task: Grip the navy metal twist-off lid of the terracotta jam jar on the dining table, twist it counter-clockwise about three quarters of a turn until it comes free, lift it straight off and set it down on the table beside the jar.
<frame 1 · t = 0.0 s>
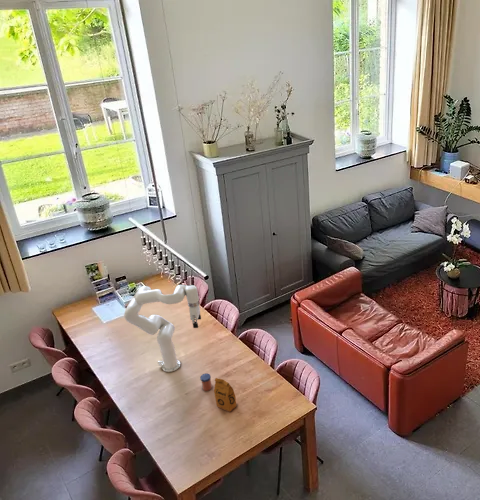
hand: (197, 323, 362), 37 cm above the table, tool pointing down, fingers open, 9 cm apart
jar: (207, 387, 359), on the table
coffee package: (227, 406, 344), on the table
lid: (205, 377, 355), point 9 cm above the table, screwed on, not yet turned
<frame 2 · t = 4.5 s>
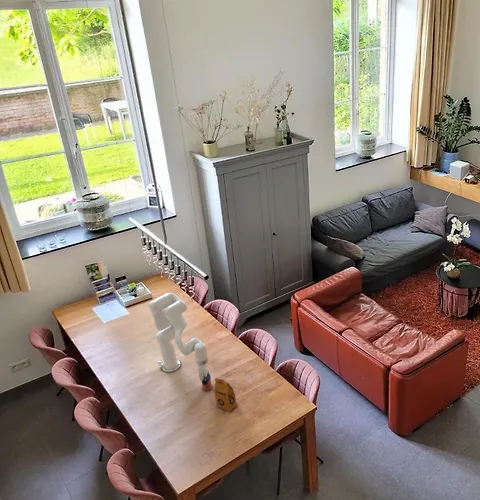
hand: (206, 380, 356), 7 cm above the table, tool pointing down, fingers closed on lid, 6 cm apart
lid: (205, 377, 355), point 9 cm above the table, screwed on, not yet turned, touching gripper
everything else where it was.
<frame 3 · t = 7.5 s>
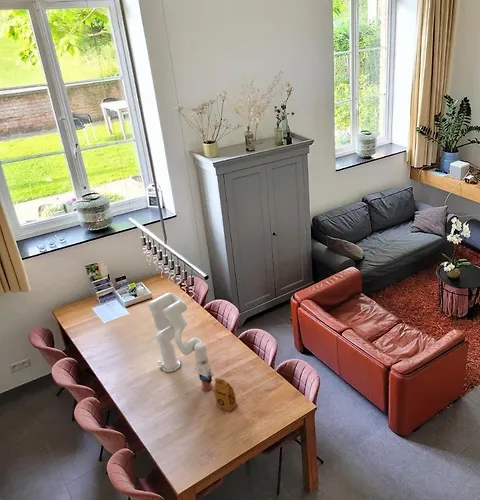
hand: (206, 380, 356), 7 cm above the table, tool pointing down, fingers closed on lid, 6 cm apart
lid: (205, 377, 355), point 10 cm above the table, turned 58° so far, risen 0.2 cm, still on its thread, touching gripper
everything else where it was.
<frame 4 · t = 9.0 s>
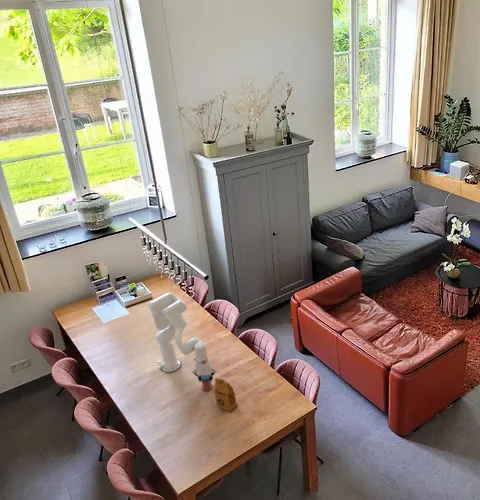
hand: (205, 380, 356), 7 cm above the table, tool pointing down, fingers closed on lid, 6 cm apart
lid: (205, 376, 355), point 10 cm above the table, turned 90° so far, risen 0.2 cm, still on its thread, touching gripper
everything else where it was.
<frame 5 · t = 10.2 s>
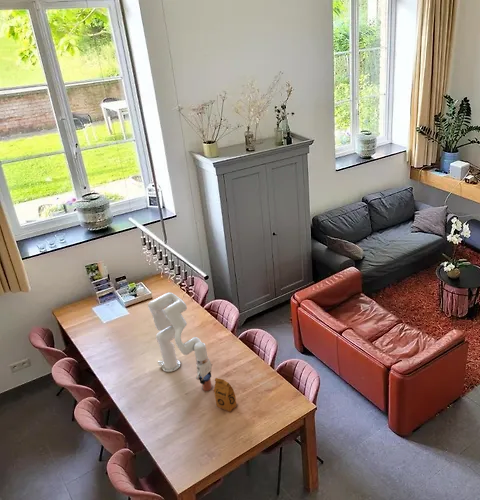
hand: (205, 379, 356), 7 cm above the table, tool pointing down, fingers closed on lid, 6 cm apart
lid: (205, 376, 354), point 10 cm above the table, turned 152° so far, risen 0.4 cm, still on its thread, touching gripper
everything else where it was.
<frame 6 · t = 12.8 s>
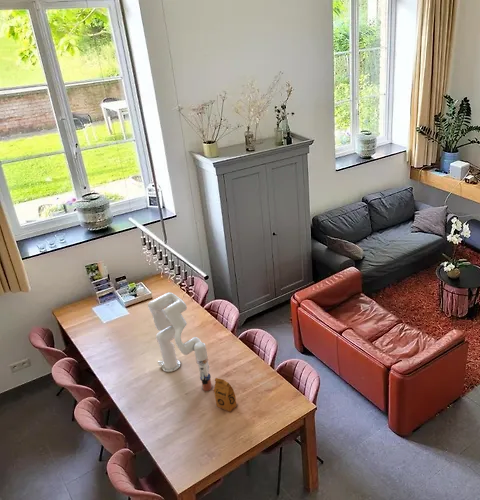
hand: (205, 379, 356), 7 cm above the table, tool pointing down, fingers closed on lid, 6 cm apart
lid: (205, 376, 354), point 10 cm above the table, off its thread, touching gripper
everything else where it was.
when the fingers open (1 cm above the table, at t = 22.5 s): lid drops 2 cm, point 1 cm above the table.
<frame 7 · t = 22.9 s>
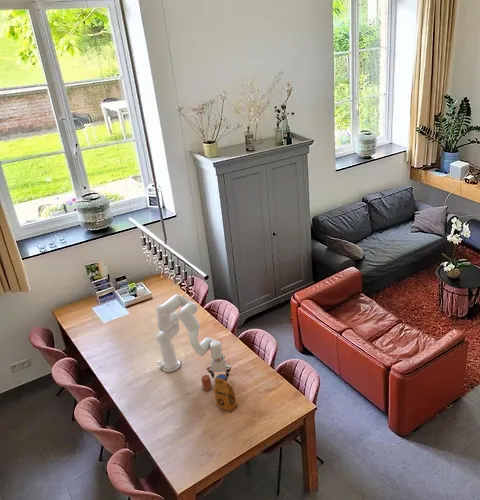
hand: (220, 376, 366), 2 cm above the table, tool pointing down, fingers open, 9 cm apart
lid: (220, 377, 366), point 1 cm above the table, off its thread
everything else where it was.
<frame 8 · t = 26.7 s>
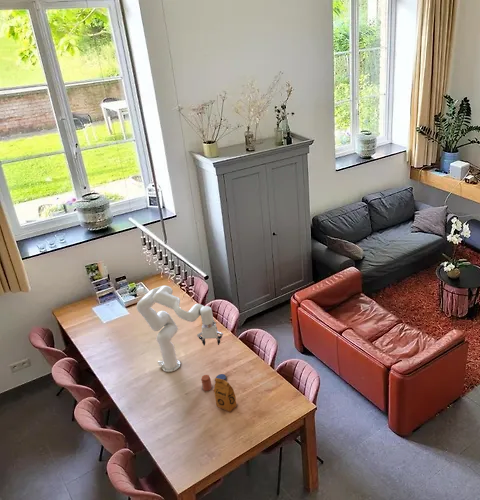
hand: (211, 344, 359), 26 cm above the table, tool pointing down, fingers open, 9 cm apart
nothing on the table moved.
at the end: lid came off its thread; lid point 0.8 cm above the table; the gripper is holding nothing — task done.
